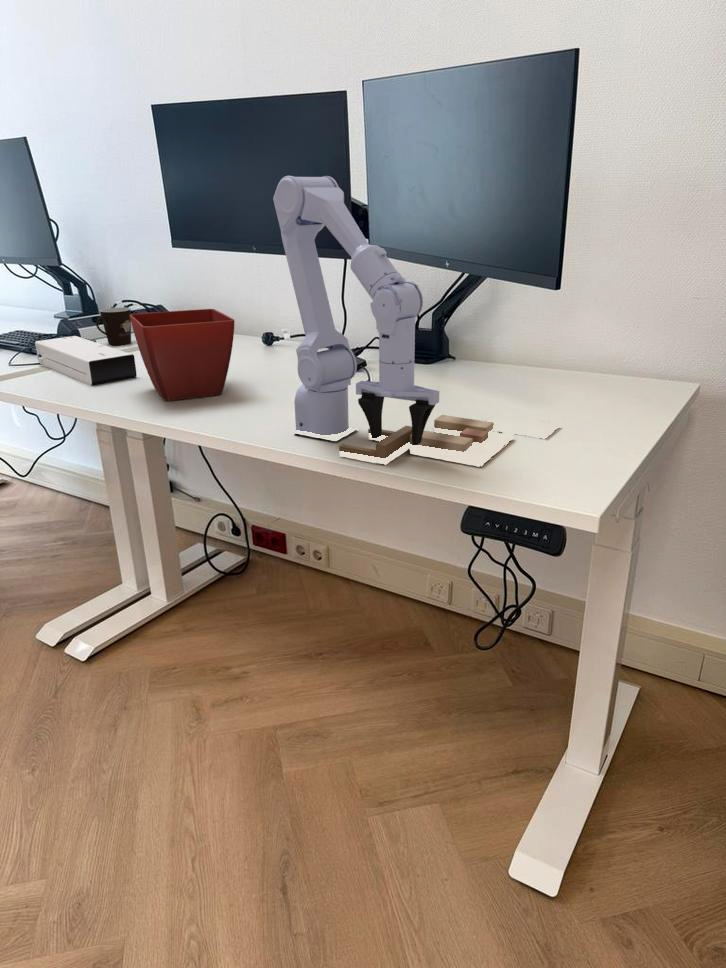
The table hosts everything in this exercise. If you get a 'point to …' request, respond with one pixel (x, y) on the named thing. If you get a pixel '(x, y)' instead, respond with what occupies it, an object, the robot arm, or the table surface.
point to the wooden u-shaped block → (469, 434)
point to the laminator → (86, 360)
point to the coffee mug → (116, 325)
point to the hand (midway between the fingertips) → (396, 440)
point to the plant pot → (185, 351)
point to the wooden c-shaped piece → (383, 443)
